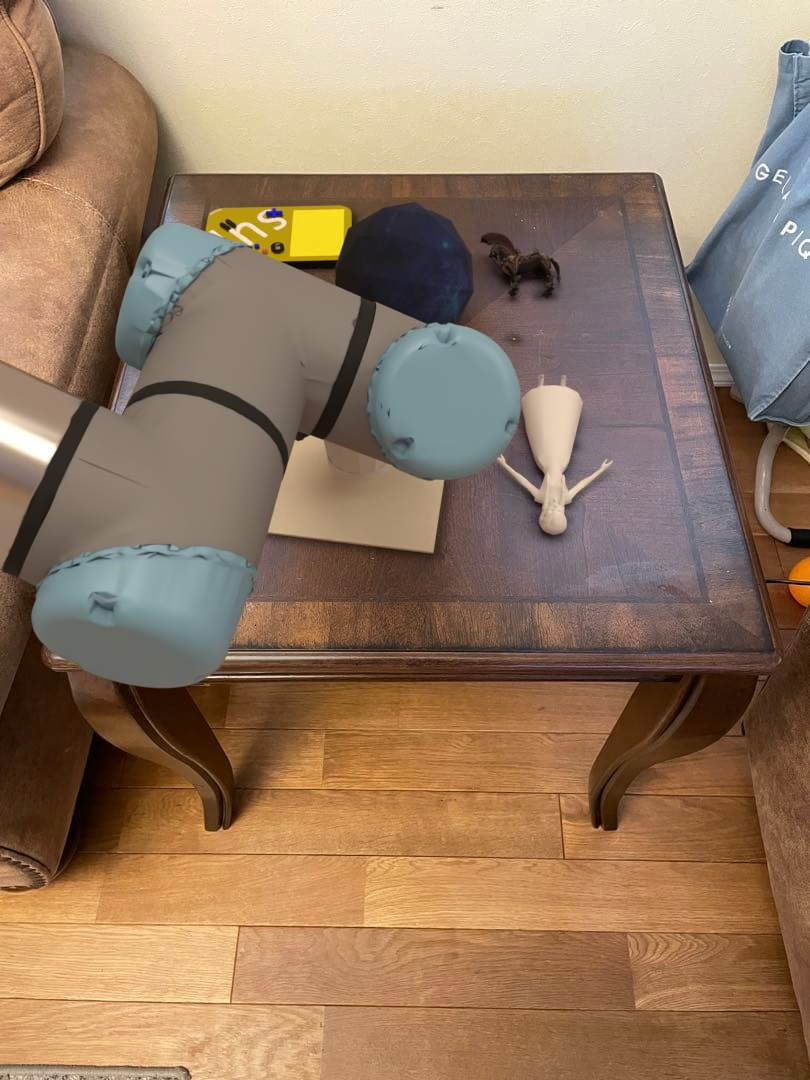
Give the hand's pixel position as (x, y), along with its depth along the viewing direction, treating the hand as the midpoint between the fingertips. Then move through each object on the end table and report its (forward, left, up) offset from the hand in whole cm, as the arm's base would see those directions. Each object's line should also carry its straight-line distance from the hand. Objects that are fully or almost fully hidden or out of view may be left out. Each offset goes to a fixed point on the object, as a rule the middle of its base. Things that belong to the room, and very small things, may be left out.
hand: (349, 402), depth 74 cm
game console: (-15, +32, -7) cm, 36 cm away
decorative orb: (+2, +18, -7) cm, 19 cm away
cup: (+1, -3, -4) cm, 5 cm away
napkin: (+1, -3, -7) cm, 8 cm away
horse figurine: (+15, +26, -7) cm, 31 cm away
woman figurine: (+19, +1, -7) cm, 21 cm away
